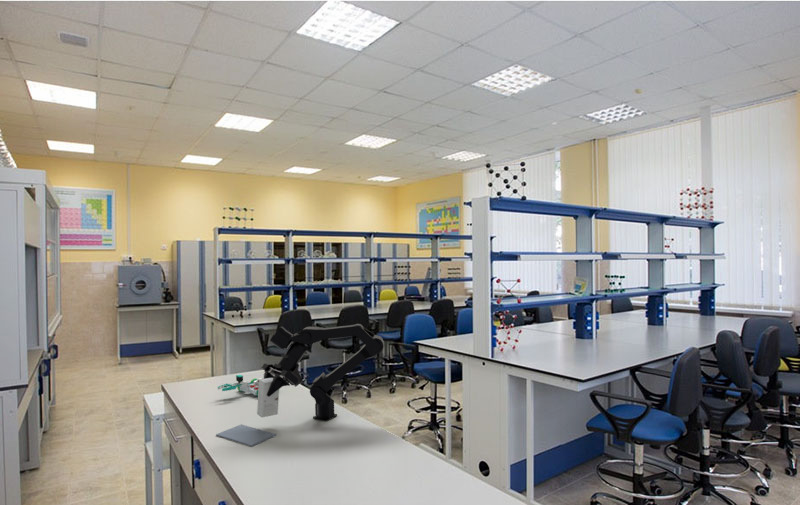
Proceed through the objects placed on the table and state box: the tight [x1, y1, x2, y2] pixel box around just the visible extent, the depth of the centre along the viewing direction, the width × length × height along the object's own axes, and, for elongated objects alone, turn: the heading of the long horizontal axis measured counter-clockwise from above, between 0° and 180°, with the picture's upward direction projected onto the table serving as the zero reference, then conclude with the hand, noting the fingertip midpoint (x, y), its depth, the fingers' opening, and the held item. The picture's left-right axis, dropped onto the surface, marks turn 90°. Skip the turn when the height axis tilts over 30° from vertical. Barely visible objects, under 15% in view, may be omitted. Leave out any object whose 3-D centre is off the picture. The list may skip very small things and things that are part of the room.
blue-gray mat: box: [215, 424, 277, 447], centre depth 148 cm, size 18×10×1 cm, turn 57°
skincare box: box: [256, 378, 280, 418], centre depth 155 cm, size 6×4×12 cm
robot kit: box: [217, 372, 265, 397], centre depth 194 cm, size 19×25×9 cm
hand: (264, 394), depth 154 cm, fingers closed on skincare box, 4 cm apart
